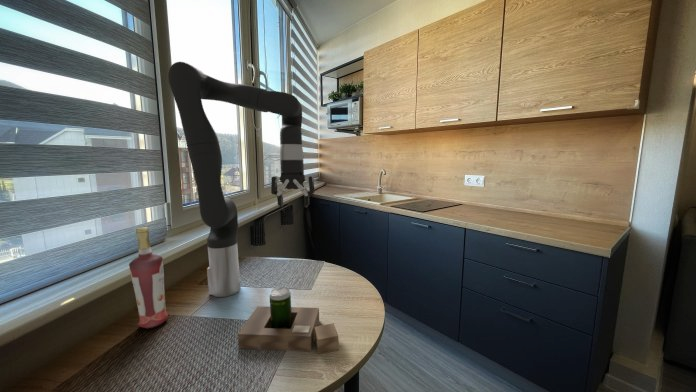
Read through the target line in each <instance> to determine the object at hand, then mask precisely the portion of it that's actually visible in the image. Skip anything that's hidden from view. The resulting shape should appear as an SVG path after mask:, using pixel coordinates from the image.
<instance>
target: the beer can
mask: <svg viewBox="0 0 696 392" xmlns="http://www.w3.org/2000/svg"><path fill="white" fill-rule="evenodd" d="M269 293H270V294H269V307H270V314H271V328H277V329H291V327H292V315H291V307H292V297H291V294H292V293H291V291H290V288H289V287H287V286H277V287H274V288H272V289H271V290H270V292H269Z"/></svg>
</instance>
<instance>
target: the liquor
mask: <svg viewBox="0 0 696 392" xmlns="http://www.w3.org/2000/svg"><path fill="white" fill-rule="evenodd" d="M135 233H136V237H137V240H138V256H137V257H135V258H134V259H132V260H131V262H129V263H128V266H129V271H130V277H131V283H132V285H133V289H134V295H135V300H136V305H137V309H138V310H137V311H138V317H139V322H138V323H137V325H138V326H139V327H141V328H143V329H147V330H149V328H150V329H154V327H155V328H156V327H159V326H160V325H162V324H163V323H165V322H166V320H167V319H168V318H169V313H168V312H167V309H166V294H165V293H166V292H165V273H164V272H165V271H164V260H163V256H161V255H159V254H155V253H153V251H152V247H151V243H150V229H149V227H147V226H146V227H145V226H144V227H138V228H136V229H135Z"/></svg>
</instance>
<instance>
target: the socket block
mask: <svg viewBox="0 0 696 392" xmlns="http://www.w3.org/2000/svg"><path fill="white" fill-rule="evenodd" d="M319 308H320V307H303V306H301V307H299V306H297V307H295V306H291V315H292V327H291V329H277V328H271V314H270V306H264V305H263V306H262V305H260V306H259V305H258V306H256V307H255V309H254V311H253V312H252V313H251V315H250V316H249V317H248V318H247V320H246V322H245V323H244V324H243V326H242V327H241V329H240V330H239V332H237V342H238V343H237V345H238V349H239V348H248V349H247V350H256V349H265V350H264V351H289V352H312V350H313V345H314V342H315V327H316V326H319V324H320V309H319Z"/></svg>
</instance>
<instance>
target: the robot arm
mask: <svg viewBox="0 0 696 392" xmlns="http://www.w3.org/2000/svg"><path fill="white" fill-rule="evenodd" d="M167 78H168V79H167V80H168V84H169V87H170V91H171V93H172V95H173V98H174V101H175V104H176V108H177V109H178V113H179V117H180V123H181V126H182V131H183V134H184V138H185V145H186V148H187V152H188V156H189V160H190V164H191V168H192V172H193V177H194V179H195V180H194V181H195V184H196V189H197V190H196V191H197V196H198V204H199V206H198V207H199V214H200V219H201V220H202V222H203V223H204V224H205V225H206V226H207V227H209V228H210V230H209V234H208V236H207V239H206V242H207V243H206V245H207V254H208V265H209V266H208V267H207V268H206V273H207V274H206V275H207V286H208V294H209V295H211V296H213V297H215V298H226V297H229V296H233V295H235V294H236V293H238V292H239V291H240V290H241V279H240V278H241V276H240V265H239V252H238V251H239V250H238V248H239V247H238V233H239V220H238V217H239V216H238V208H237V205H236V204H235V202H234V201H233V200H232V199H230V198H228V197H225V196H224V192H223V188H222V170H223V169H222V168H223V158H222V157H223V156H222V155H223V154H222V151H221V146H220V145H221V144H220V141H219V139H218V136H217V133H216V131H215V129H214V127H213V126H212V123H211V122H210V120H209V119H208V117H207V114H206V112H205V110H204V106H203V100H209V101H217V102H223V103H229V104H232V105H235V106H239V107H243V108H246V109H250V110H253V111H257V112H261V113H271V114H275V115H277V116H278V115H279V116H281V127H280V130H279V141H280V142H279V143H280V144H279V145H280V147H279V160H280V162H279V163H280V164H279V165H280V176H277V175H275V176H271V179H270V180H271V181H270V183H271V187H270V188H271V190H270V192H271V195H276V197H277V199H276V200H277V205H278V207H279V208H283V207H284V195H283V194H284V193H285V191H286V190H292V189H293V190H300V191H301V193H303V194H302V195H303V207H304V208H308V206H310V196H311V195H314V194H315V192H316V191H315V180H314V176H313V175H310V176H305V168H304V167H305V166H304V149H303V136H302V134H303V133H302V124H303V107H302V104H301V102H300V101H299V99H298V98H297V97H296V96H295V95H293V94H291V93H288V92H284V91H283V92H282V91H276V90H269V89H265V88H262V87H258V86H254V85H249V84H243V83H233V82H232V83H231V82H226V81H224V80H223V81H222V80H220V79H217V78H215V77H212V76H210V75H207V74H205V73H204V72H203V71H201V70H200V69H199V68H196V67H195V66H193V65H191V64H190V63H187V62H184V61H177V62H176V61H175V62H174V63H173V64H172V65H171V66H170V67H169V70H168V72H167ZM305 181H306V182H307V183H308V188H309V189H307V187H306V186H305V185H304V183H305ZM279 182H281V184H282V185H281V186H280V188H279V190H278V183H279Z"/></svg>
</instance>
